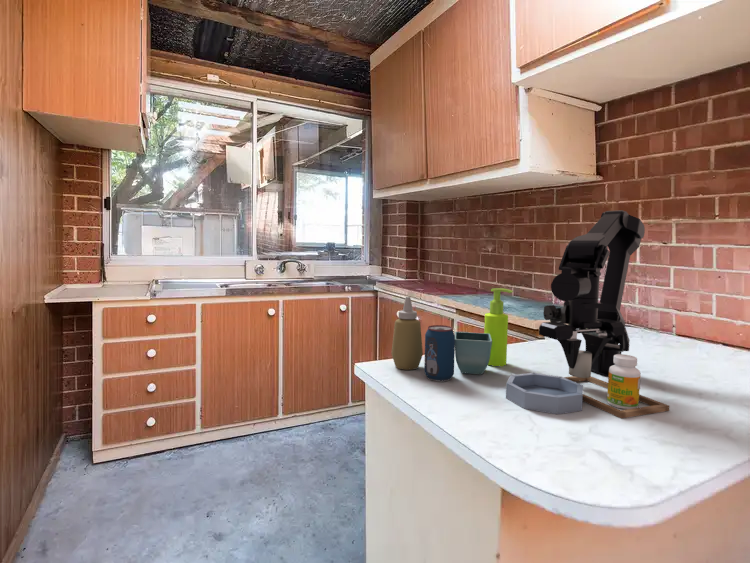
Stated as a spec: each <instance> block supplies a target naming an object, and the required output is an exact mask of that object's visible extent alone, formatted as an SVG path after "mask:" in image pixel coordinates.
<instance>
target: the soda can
mask: <svg viewBox="0 0 750 563" xmlns="http://www.w3.org/2000/svg"><path fill="white" fill-rule="evenodd" d="M423 363H424V367H423V369H424V374H425V376H426V378H427V379H428V380H430V381H434V382H448V381H450V380H451V379H452V378H453V376H454V374H455V331H453V327H452V326H450V325H445V324H443V325H442V324H439V325H438V324H434V325H429V326H427V330H426V331H425V334H424V362H423Z"/></svg>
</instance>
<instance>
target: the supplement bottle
mask: <svg viewBox="0 0 750 563" xmlns="http://www.w3.org/2000/svg"><path fill="white" fill-rule="evenodd" d="M613 361H614V363H615V365H612V366H611V367H610V368H609V375H608V376H607V377H608V378H607V379H608V380H607V381H608V382H607V383H608V389H607V394H606V402H607V404H608V405H610V406H612V407H614V408H617V409H620V410H627V409H633V408H639V402H640V401H639V394H640V389H641V388H640V387H641V376H642V375H641V371H640V370H639V369H638V368H637V366H638V358H637V356H634V355H631V354H629V355H628V354H622V353H621V354H616V355H614V359H613Z"/></svg>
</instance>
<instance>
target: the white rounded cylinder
mask: <svg viewBox="0 0 750 563" xmlns="http://www.w3.org/2000/svg"><path fill="white" fill-rule="evenodd" d="M591 363H592V353H590V352H587V351H586V350H581V349H579V353H578V357H577V361H576V364H575V367H574V369H572V368H569V367H568V374H569V375H570V376H575V377H580V378H589V377H592V371H591Z"/></svg>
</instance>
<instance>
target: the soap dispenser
mask: <svg viewBox="0 0 750 563" xmlns="http://www.w3.org/2000/svg"><path fill="white" fill-rule="evenodd" d="M490 292H493V299H491V300H490V301H489V312H487V313H485V314H484V330H483V333H487V334H490V336H491V339H492V346H491V353H490V359H489V363H488V365H487V366H489V365H493V366H492V367H495V366H501V367H505V366H507V359H508V358H507V357H508V356H507V354H508V330H509V328H508V326H509V315H508V314H506V313H504V301H503V300H502V299H501V293H503V292H504V293H509V294H512V293H513V292H514V290H512V289H508V288H503V287H502V288H498V287H497V288H491V290H490ZM504 365H505V366H504Z"/></svg>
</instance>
